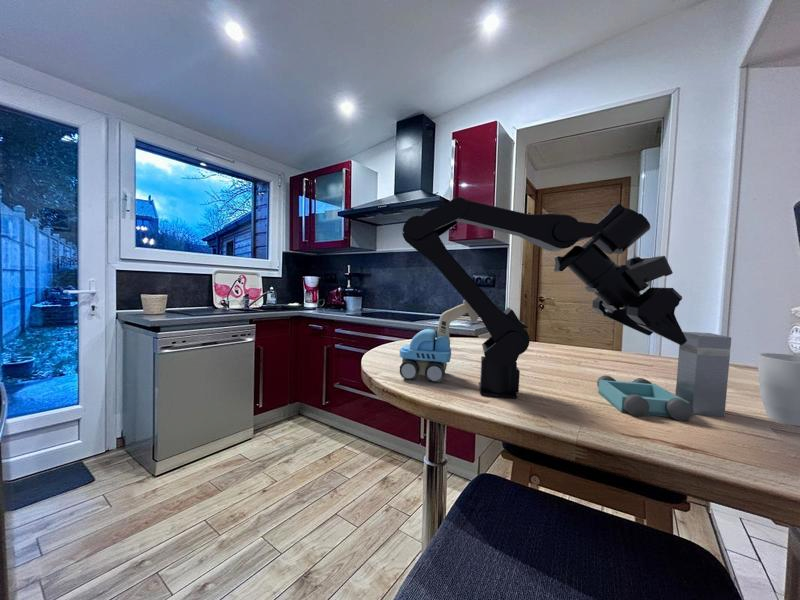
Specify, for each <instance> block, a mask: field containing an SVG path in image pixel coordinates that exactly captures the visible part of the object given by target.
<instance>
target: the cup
mask: <svg viewBox="0 0 800 600" xmlns="http://www.w3.org/2000/svg"><path fill="white" fill-rule="evenodd" d="M757 356H758V359H757V360H758V361H757V363H758V364H757V366H758V370H757V372H758V373H757V374H758V376H757V377H758V379H757V380H758V384H759V386H758V387H759V393H760V398H761V402H762V405H763V409H764V410H765V413H766V416H767V417H768V418H769V417H770V418H769V419H771V420H774V421H777V422H780V423H783V424H786V425H791V426H795V427H800V355H795V354H787V353H774V352H773V353H770V352H760V353H758V355H757Z"/></svg>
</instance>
